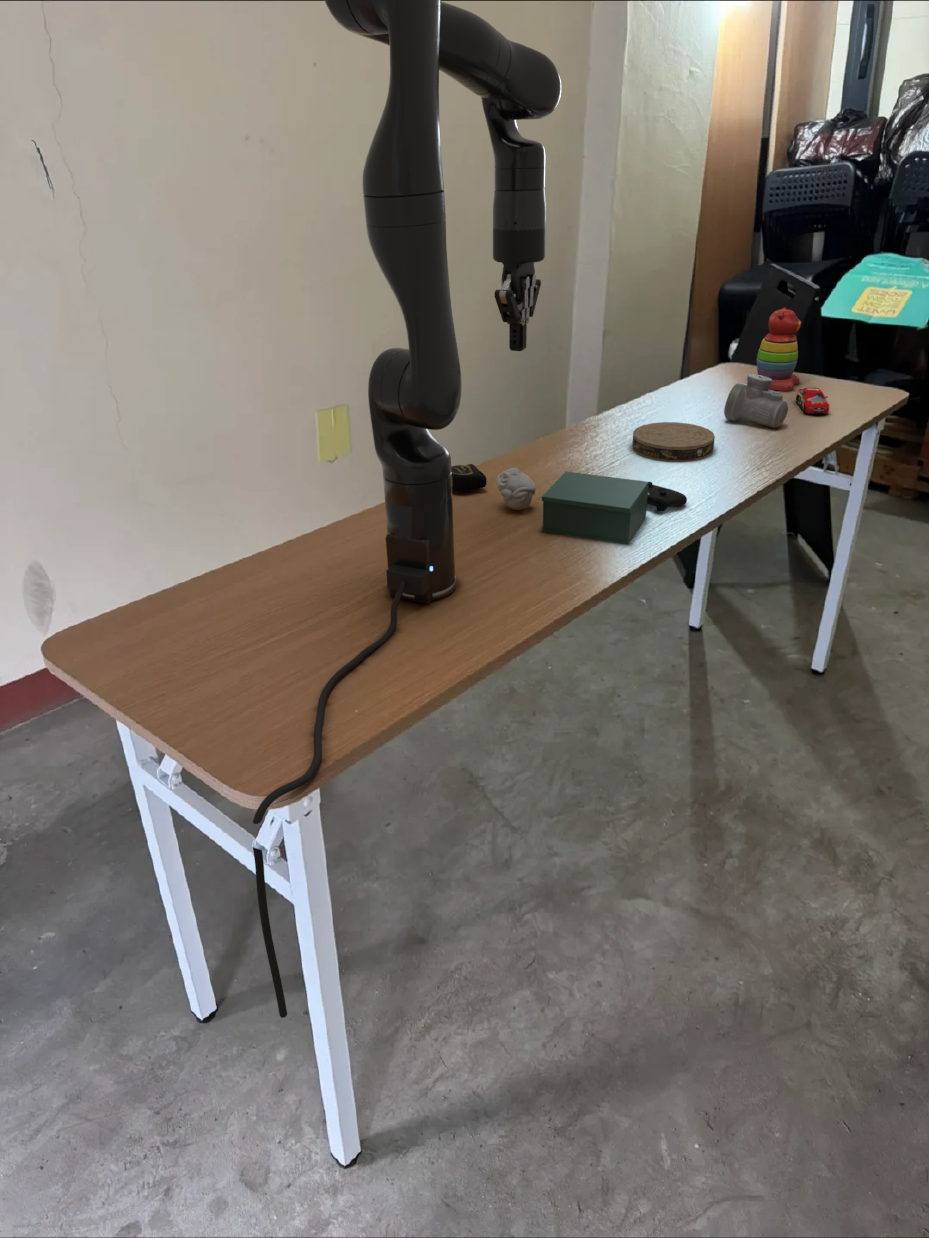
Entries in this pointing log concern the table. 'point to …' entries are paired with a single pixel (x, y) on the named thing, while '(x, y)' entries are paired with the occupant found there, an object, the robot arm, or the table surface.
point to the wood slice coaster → (673, 441)
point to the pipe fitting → (756, 402)
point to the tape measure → (467, 478)
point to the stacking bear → (780, 350)
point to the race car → (812, 401)
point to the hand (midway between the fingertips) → (517, 349)
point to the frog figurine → (515, 488)
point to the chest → (594, 521)
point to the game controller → (664, 498)
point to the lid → (596, 492)
